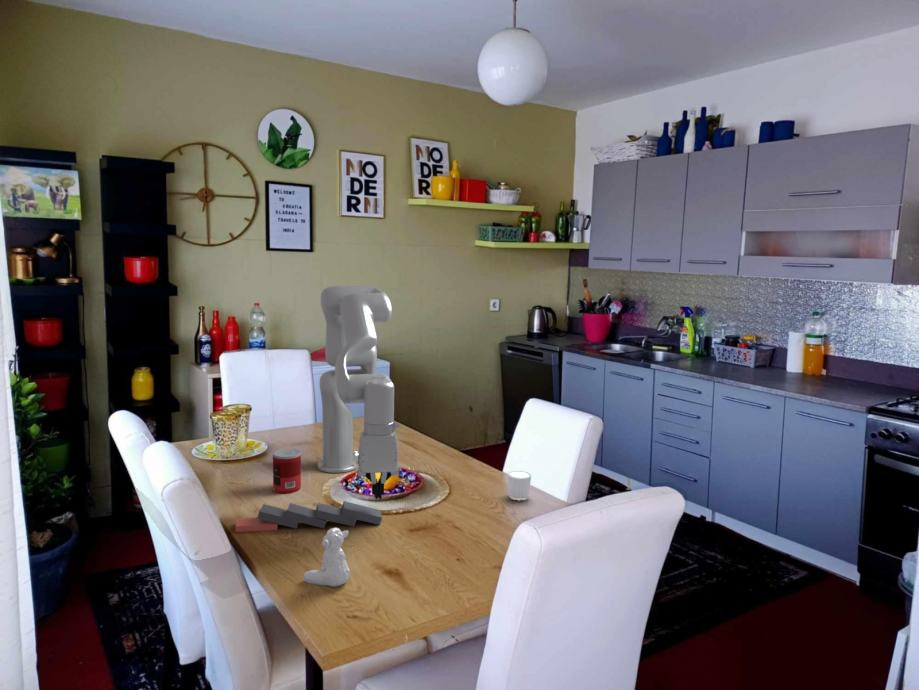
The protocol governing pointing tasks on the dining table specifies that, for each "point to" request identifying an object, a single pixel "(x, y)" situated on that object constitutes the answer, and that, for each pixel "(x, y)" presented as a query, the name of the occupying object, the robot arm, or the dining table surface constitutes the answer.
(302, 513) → the domino
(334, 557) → the sitting furry creature
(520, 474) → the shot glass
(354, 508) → the domino
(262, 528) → the red domino
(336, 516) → the domino
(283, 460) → the canned food
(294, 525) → the domino
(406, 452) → the dining table surface
